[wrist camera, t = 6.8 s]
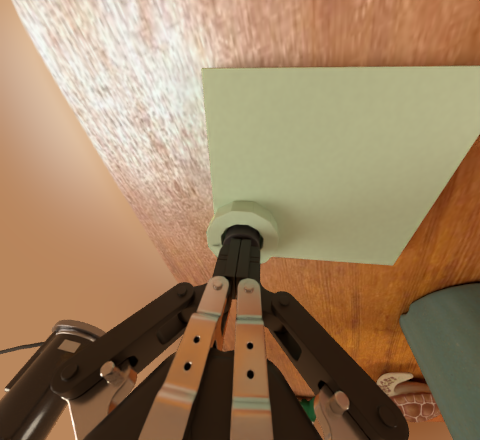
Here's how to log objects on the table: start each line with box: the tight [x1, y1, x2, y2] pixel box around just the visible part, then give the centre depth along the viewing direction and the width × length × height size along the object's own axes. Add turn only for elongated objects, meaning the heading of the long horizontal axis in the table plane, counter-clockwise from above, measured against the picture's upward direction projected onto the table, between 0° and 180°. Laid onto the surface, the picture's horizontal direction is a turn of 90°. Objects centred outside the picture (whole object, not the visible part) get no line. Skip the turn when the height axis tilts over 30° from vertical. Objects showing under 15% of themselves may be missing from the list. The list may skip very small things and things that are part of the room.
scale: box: [201, 66, 480, 265], centre depth 14 cm, size 16×14×4 cm
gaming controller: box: [298, 396, 316, 425], centre depth 44 cm, size 9×4×6 cm
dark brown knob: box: [223, 224, 260, 248], centre depth 15 cm, size 3×3×2 cm
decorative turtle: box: [377, 372, 441, 422], centre depth 33 cm, size 18×17×5 cm
